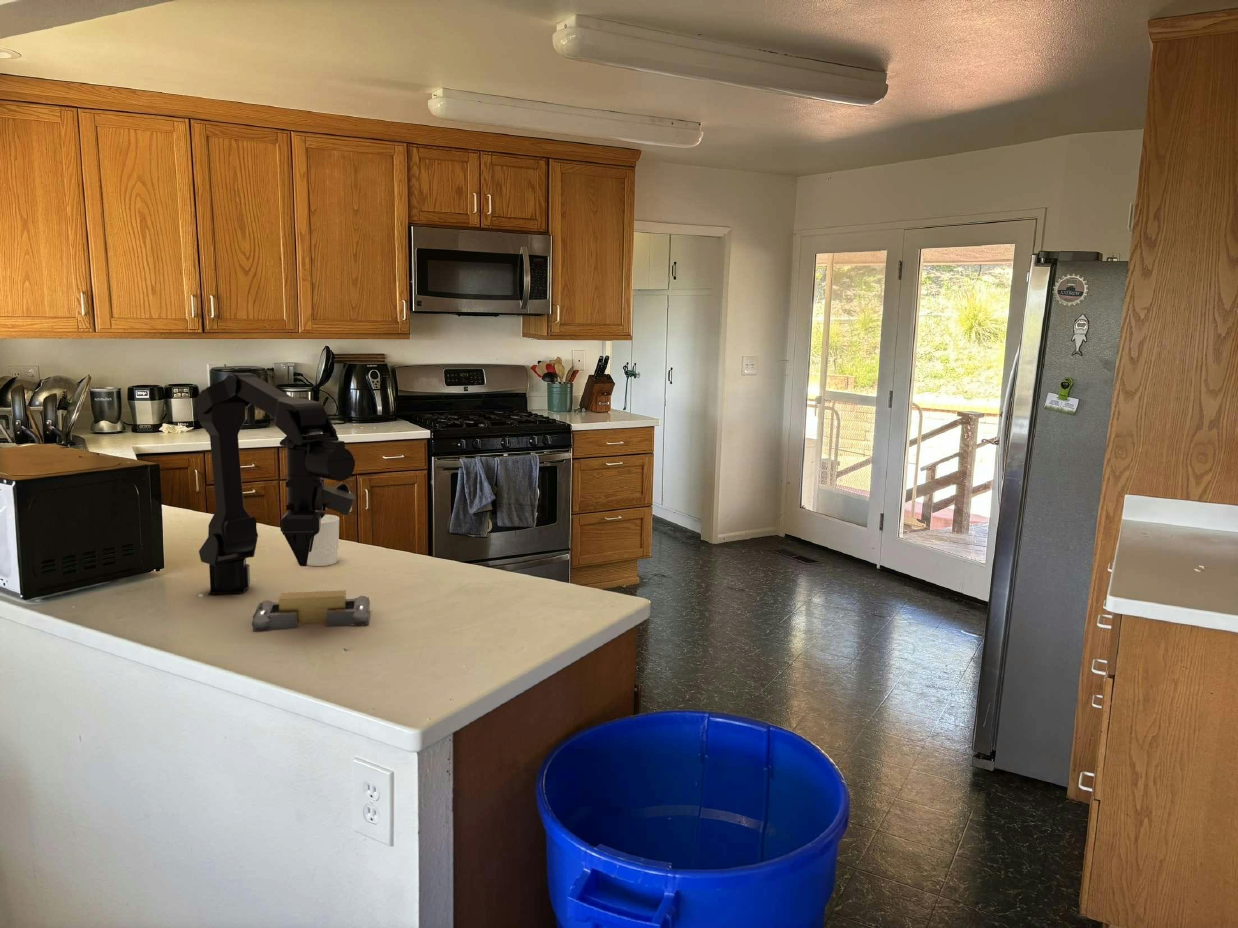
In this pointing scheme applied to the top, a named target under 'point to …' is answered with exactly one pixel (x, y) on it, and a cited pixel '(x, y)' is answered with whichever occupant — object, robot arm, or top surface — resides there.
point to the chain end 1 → (272, 617)
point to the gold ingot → (312, 605)
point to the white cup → (325, 543)
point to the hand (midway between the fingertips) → (305, 558)
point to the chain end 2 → (350, 613)
